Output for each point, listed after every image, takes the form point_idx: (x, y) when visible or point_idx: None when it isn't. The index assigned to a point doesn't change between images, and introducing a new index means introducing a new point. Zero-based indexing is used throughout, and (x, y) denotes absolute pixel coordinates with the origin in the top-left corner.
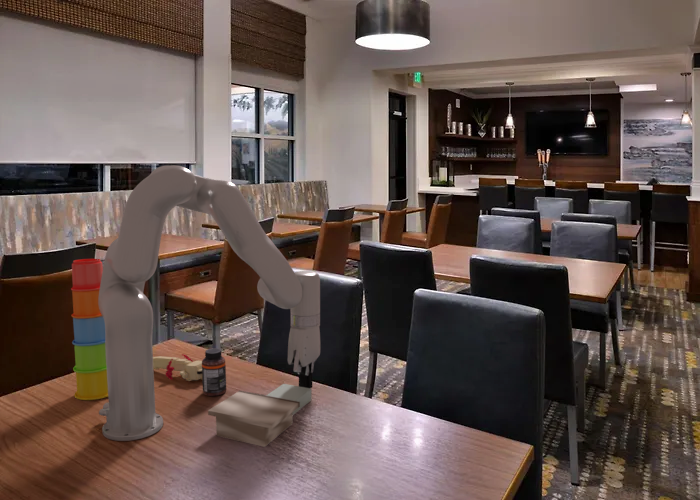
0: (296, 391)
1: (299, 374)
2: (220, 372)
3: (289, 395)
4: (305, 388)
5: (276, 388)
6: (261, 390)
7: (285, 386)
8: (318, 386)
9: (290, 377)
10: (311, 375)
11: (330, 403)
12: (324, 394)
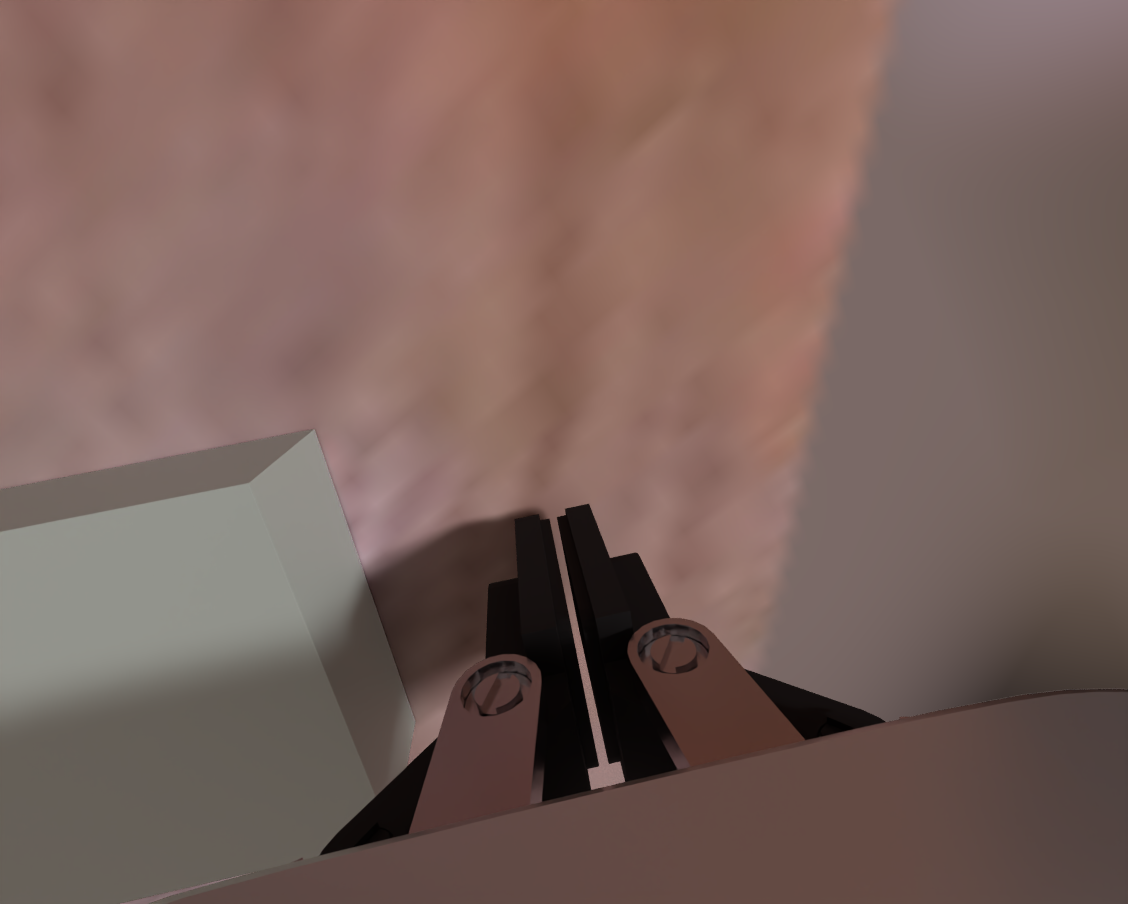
0: (186, 785)
1: (523, 636)
2: None
3: (19, 804)
4: (345, 798)
5: (13, 529)
6: (192, 42)
7: (188, 581)
8: (735, 571)
9: (835, 98)
10: (617, 760)
11: None
12: (597, 722)
